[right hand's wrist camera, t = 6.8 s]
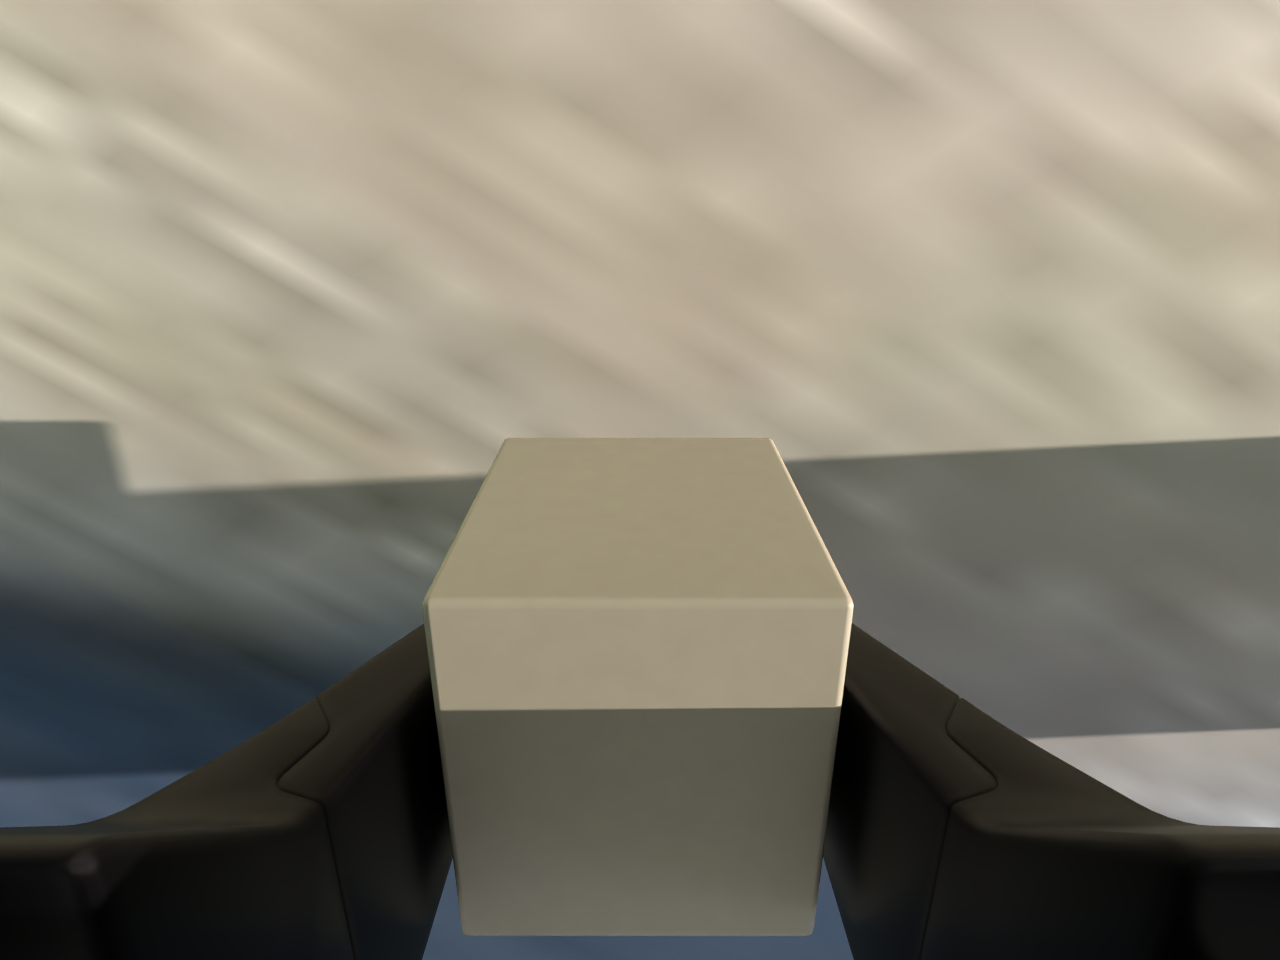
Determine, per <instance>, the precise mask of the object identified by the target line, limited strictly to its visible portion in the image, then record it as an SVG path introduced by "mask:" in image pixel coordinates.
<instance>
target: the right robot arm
mask: <svg viewBox="0 0 1280 960" xmlns="http://www.w3.org/2000/svg"><path fill="white" fill-rule="evenodd" d="M452 858H453V852H452V844H451V836H450V828H449V820H448V812H447V804H446V796H445V787H444V779H443V771H442V763H441V755H440V747H439V739H438V730H437V722H436V714H435V706H434V698H433V690H432V682H431V674H430V665H429V657H428V649H427V641H426V633H425V625H424V624H423V625H421V626H420V627H418V628H417V629H415V630H414V631H412V632H411V633H409V634H408V635H406V636H405V637H403V638H402V639H400V640H399V641H397V642H396V643H394V644H393V645H391V646H390V647H388V648H387V649H385V650H384V651H382V652H381V653H379V654H378V655H377V656H375V657H374V658H372V659H371V660H369V661H368V662H366V663H365V664H363V665H362V666H360V667H359V668H357V669H356V670H354V671H353V672H351V673H350V674H348V675H347V676H345V677H344V678H342V679H341V680H339V681H338V682H336V683H335V684H333V685H332V686H330V687H329V688H327V689H326V690H324V691H323V692H322V693H320V694H319V695H317V697H316V699H315V698H313V699H311V700H309V701H308V702H306V703H305V704H304V705H302V706H301V707H299V708H298V709H296V710H295V711H293V712H292V713H290V714H288V715H287V716H285V717H284V718H282V719H281V720H279V721H278V722H276V723H274V724H273V725H271V726H270V727H268V728H267V729H265V730H264V731H262V732H260V733H259V734H257V735H255V736H254V737H252V738H250V739H248V740H247V741H245V742H243V743H242V744H240V745H238V746H237V747H235V748H233V749H231V750H230V751H228V752H226V753H224V754H223V755H221V756H219V757H217V758H216V759H214V760H212V761H210V762H209V763H207V764H205V765H203V766H202V767H200V768H198V769H196V770H194V771H193V772H191V773H189V774H187V775H186V776H184V777H182V778H180V779H179V780H177V781H175V782H173V783H172V784H170V785H168V786H166V787H164V788H163V789H161V790H159V791H157V792H156V793H154V794H152V795H150V796H149V797H147V798H145V799H143V800H142V801H140V802H138V803H136V804H134V805H132V806H130V807H128V808H126V809H124V810H123V811H120V812H118V813H115V814H113V815H110V816H108V817H105V818H102V819H98V820H95V821H91V822H88V823H82V824H77V825H66V826H37V827H2V828H0V960H422V958H423V954H424V951H425V948H426V944H427V941H428V938H429V934H430V931H431V928H432V924H433V921H434V918H435V914H436V911H437V908H438V904H439V901H440V898H441V895H442V891H443V888H444V885H445V881H446V878H447V875H448V871H449V868H450V865H451V861H452ZM823 858H824V861H825V864H826V868H827V871H828V874H829V878H830V881H831V885H832V888H833V891H834V895H835V898H836V901H837V905H838V908H839V911H840V915H841V918H842V922H843V925H844V928H845V932H846V935H847V938H848V942H849V945H850V948H851V952H852V955H853V959H854V960H1280V828H1271V827H1236V826H1207V825H1197V824H1192V823H1186V822H1182V821H1179V820H1176V819H1172V818H1169V817H1166V816H1164V815H1161V814H1159V813H1156V812H1154V811H1151V810H1150V809H1148V808H1146V807H1144V806H1142V805H1140V804H1138V803H1136V802H1134V801H1133V800H1131V799H1129V798H1127V797H1126V796H1124V795H1122V794H1120V793H1119V792H1117V791H1115V790H1113V789H1112V788H1110V787H1108V786H1106V785H1105V784H1103V783H1101V782H1099V781H1098V780H1096V779H1094V778H1092V777H1091V776H1089V775H1087V774H1085V773H1084V772H1082V771H1080V770H1078V769H1077V768H1075V767H1073V766H1071V765H1070V764H1068V763H1066V762H1064V761H1063V760H1061V759H1059V758H1057V757H1056V756H1054V755H1052V754H1050V753H1049V752H1047V751H1045V750H1043V749H1042V748H1040V747H1038V746H1037V745H1035V744H1033V743H1032V742H1030V741H1028V740H1027V739H1025V738H1023V737H1021V736H1020V735H1018V734H1016V733H1015V732H1013V731H1011V730H1010V729H1008V728H1007V727H1005V726H1004V725H1002V724H1001V723H999V722H998V721H996V720H994V719H993V718H991V717H990V716H988V715H987V714H985V713H984V712H982V711H981V710H979V709H978V708H976V707H975V706H973V705H972V704H970V703H969V702H967V701H966V700H965V699H963V698H960V699H959V696H958V695H957V694H955V693H954V692H952V691H951V690H950V689H948V688H947V687H945V686H944V685H942V684H941V683H939V682H938V681H936V680H935V679H933V678H932V677H930V676H929V675H927V674H926V673H925V672H923V671H922V670H920V669H919V668H917V667H916V666H914V665H913V664H911V663H910V662H908V661H907V660H905V659H904V658H902V657H901V656H899V655H898V654H897V653H895V652H894V651H892V650H891V649H889V648H888V647H886V646H885V645H883V644H882V643H880V642H879V641H877V640H876V639H874V638H873V637H872V636H870V635H869V634H867V633H866V632H864V631H863V630H861V629H860V628H858V627H857V626H855V625H854V624H851V632H850V640H849V648H848V656H847V664H846V672H845V681H844V689H843V697H842V705H841V713H840V721H839V729H838V737H837V745H836V753H835V761H834V770H833V778H832V786H831V794H830V802H829V810H828V818H827V826H826V834H825V842H824V850H823Z"/></svg>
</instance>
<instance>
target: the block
mask: <svg viewBox="0 0 1280 960" xmlns="http://www.w3.org/2000/svg"><path fill="white" fill-rule="evenodd" d="M853 608H854V604H853V601H852V598H851V596H850V594H849V592H848V590H847V588H846V586H845V584H844V582H843V580H842V578H841V576H840V574H839V572H838V570H837V568H836V566H835V564H834V562H833V560H832V558H831V556H830V554H829V552H828V550H827V548H826V546H825V544H824V542H823V540H822V538H821V536H820V534H819V532H818V530H817V528H816V526H815V524H814V522H813V520H812V518H811V516H810V514H809V512H808V510H807V508H806V506H805V504H804V502H803V500H802V498H801V496H800V494H799V492H798V490H797V488H796V486H795V484H794V482H793V480H792V478H791V476H790V474H789V472H788V470H787V468H786V466H785V464H784V462H783V460H782V458H781V456H780V454H779V452H778V450H777V448H776V446H775V444H774V442H773V440H771V439H769V438H508V439H505V440H504V442H503V444H502V446H501V448H500V450H499V452H498V454H497V456H496V458H495V460H494V462H493V464H492V466H491V468H490V470H489V472H488V474H487V476H486V478H485V480H484V482H483V484H482V485H481V487H480V489H479V491H478V493H477V495H476V497H475V499H474V501H473V503H472V505H471V507H470V509H469V511H468V513H467V515H466V517H465V519H464V521H463V523H462V525H461V527H460V529H459V531H458V533H457V535H456V537H455V539H454V541H453V543H452V545H451V547H450V549H449V551H448V552H447V554H446V556H445V558H444V560H443V562H442V564H441V566H440V568H439V570H438V572H437V574H436V576H435V578H434V580H433V582H432V584H431V586H430V588H429V590H428V592H427V594H426V596H425V598H424V600H423V603H422V609H423V617H424V625H425V633H426V641H427V649H428V657H429V665H430V674H431V682H432V690H433V698H434V706H435V714H436V722H437V730H438V739H439V747H440V755H441V763H442V771H443V779H444V787H445V796H446V804H447V812H448V820H449V828H450V836H451V844H452V852H453V861H454V869H455V877H456V885H457V893H458V901H459V909H460V917H461V926H462V931H463V933H464V934H466V935H468V936H808V935H810V934H812V932H813V929H814V923H815V915H816V907H817V899H818V891H819V883H820V875H821V867H822V859H823V850H824V842H825V834H826V826H827V818H828V810H829V802H830V794H831V786H832V778H833V770H834V761H835V753H836V745H837V737H838V729H839V721H840V713H841V705H842V697H843V689H844V681H845V672H846V664H847V656H848V648H849V640H850V632H851V624H852V616H853Z"/></svg>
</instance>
